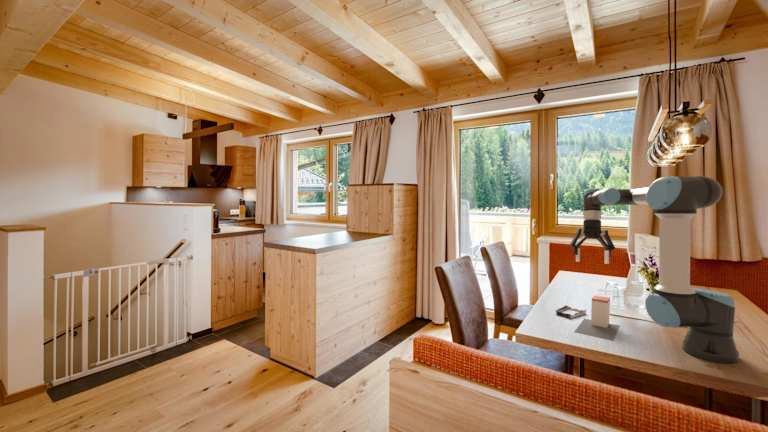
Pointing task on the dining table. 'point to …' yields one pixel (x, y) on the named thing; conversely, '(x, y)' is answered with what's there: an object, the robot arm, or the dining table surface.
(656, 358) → the dining table surface
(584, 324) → the charcoal mat
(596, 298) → the off-white block
